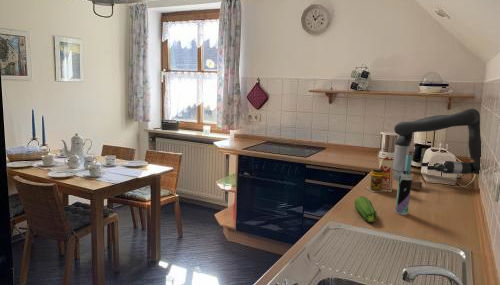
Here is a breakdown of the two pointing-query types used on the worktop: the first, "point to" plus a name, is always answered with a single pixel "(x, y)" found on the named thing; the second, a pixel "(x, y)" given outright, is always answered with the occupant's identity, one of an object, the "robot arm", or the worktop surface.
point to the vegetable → (365, 208)
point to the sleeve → (397, 174)
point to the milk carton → (386, 174)
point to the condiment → (376, 180)
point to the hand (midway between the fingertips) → (424, 166)
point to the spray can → (403, 193)
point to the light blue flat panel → (408, 164)
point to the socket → (416, 185)
